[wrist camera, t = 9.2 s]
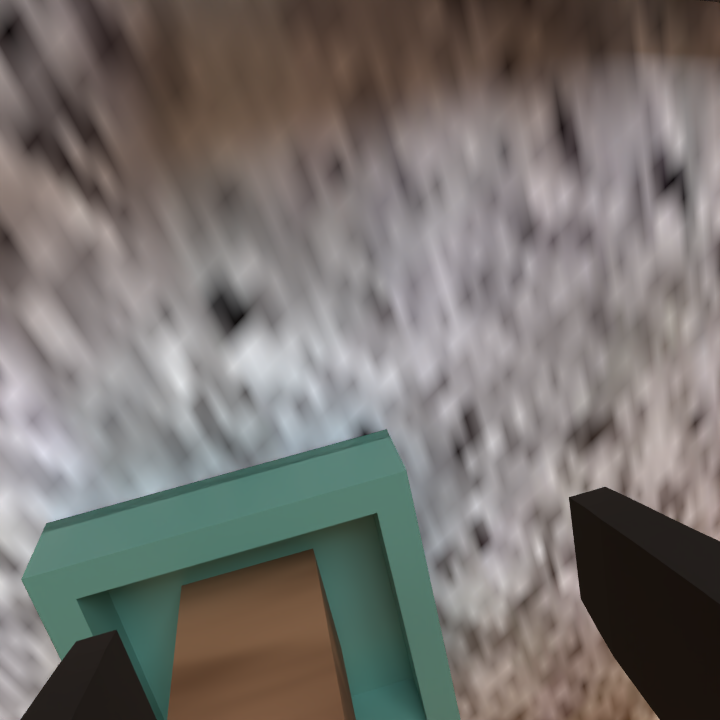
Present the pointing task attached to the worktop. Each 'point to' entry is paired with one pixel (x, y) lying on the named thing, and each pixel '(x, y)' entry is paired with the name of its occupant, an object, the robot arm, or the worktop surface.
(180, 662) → the walnut post
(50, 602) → the teal well
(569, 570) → the worktop surface
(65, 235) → the worktop surface
